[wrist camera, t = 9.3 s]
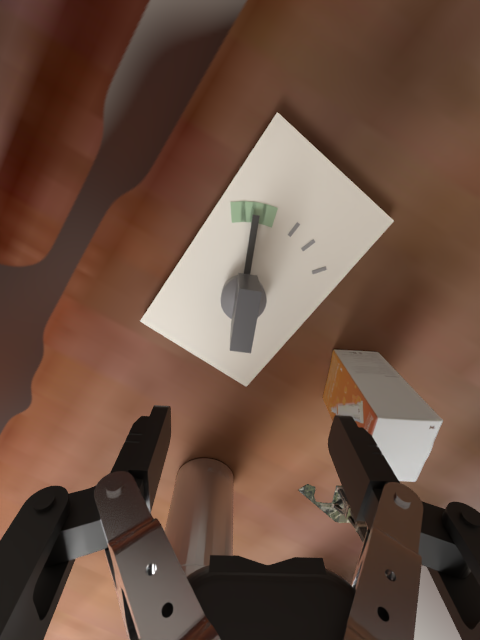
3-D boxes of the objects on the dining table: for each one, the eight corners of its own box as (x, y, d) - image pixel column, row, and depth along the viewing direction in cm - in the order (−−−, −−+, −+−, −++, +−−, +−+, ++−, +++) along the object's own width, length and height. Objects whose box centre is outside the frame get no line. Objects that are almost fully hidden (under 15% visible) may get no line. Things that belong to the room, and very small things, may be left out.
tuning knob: (260, 322, 34) (266, 355, 26) (218, 316, 33) (213, 348, 26) (279, 218, 29) (294, 223, 22) (232, 211, 29) (230, 213, 22)
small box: (332, 348, 37) (377, 416, 25) (378, 351, 37) (446, 420, 25) (320, 398, 40) (356, 480, 28) (364, 400, 41) (418, 483, 28)
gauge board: (246, 380, 39) (246, 387, 37) (143, 316, 35) (139, 321, 34) (387, 220, 31) (394, 220, 30) (275, 116, 27) (277, 111, 26)
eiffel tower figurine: (295, 486, 48) (316, 585, 35) (345, 456, 45) (386, 551, 33) (345, 528, 52) (378, 628, 40) (392, 502, 50) (444, 601, 37)
